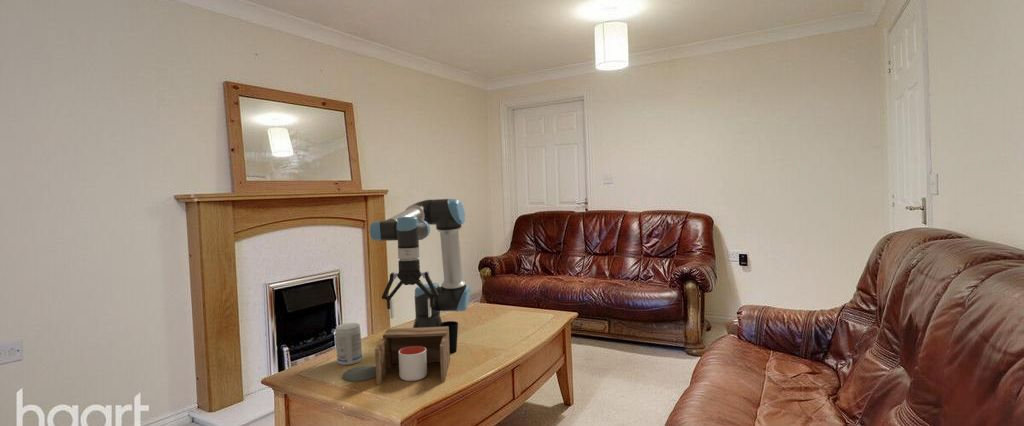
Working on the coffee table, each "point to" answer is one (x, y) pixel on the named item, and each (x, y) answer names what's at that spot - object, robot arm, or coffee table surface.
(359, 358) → the supplement tub
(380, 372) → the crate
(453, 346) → the cup
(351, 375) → the coaster
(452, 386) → the coffee table surface
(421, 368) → the cup
